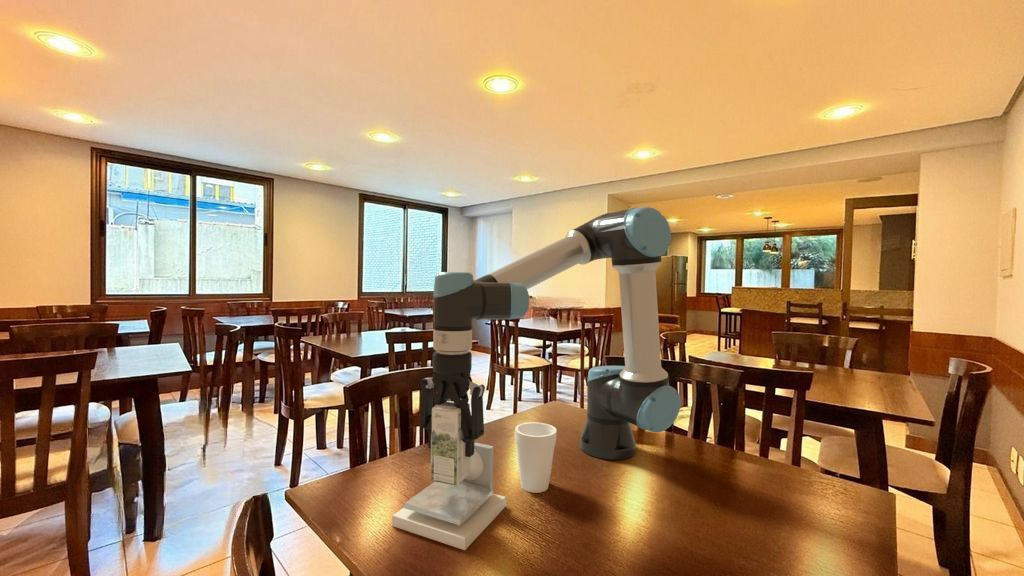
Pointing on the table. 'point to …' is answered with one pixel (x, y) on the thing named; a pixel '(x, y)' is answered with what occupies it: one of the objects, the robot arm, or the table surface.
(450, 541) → the scale base
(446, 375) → the robot arm
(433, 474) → the syrup box
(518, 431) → the foam cup
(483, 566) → the table surface
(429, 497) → the scale pan
